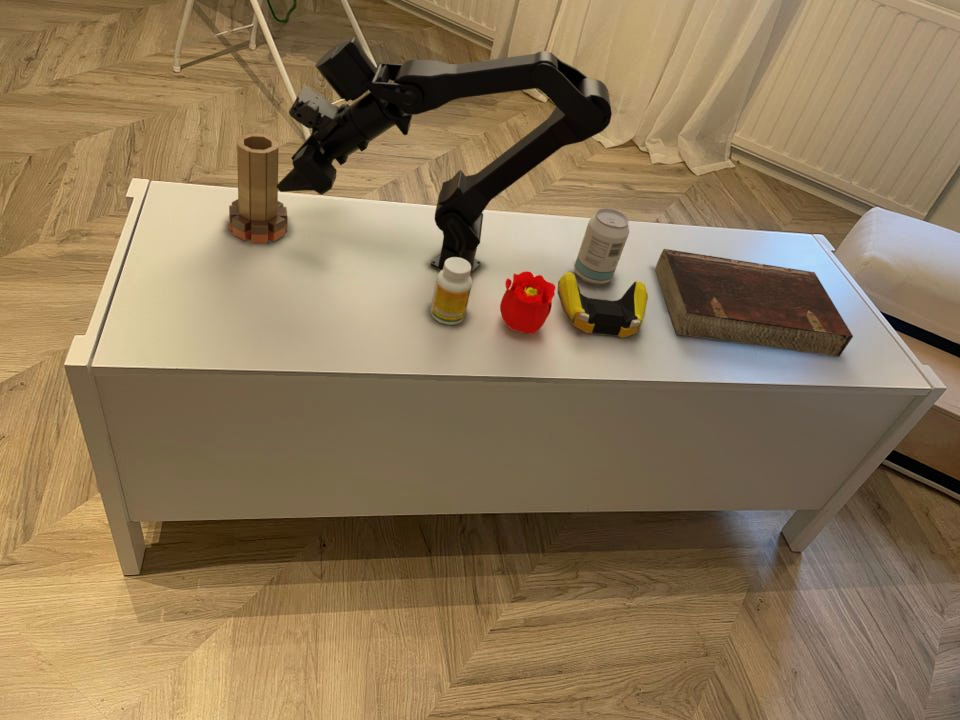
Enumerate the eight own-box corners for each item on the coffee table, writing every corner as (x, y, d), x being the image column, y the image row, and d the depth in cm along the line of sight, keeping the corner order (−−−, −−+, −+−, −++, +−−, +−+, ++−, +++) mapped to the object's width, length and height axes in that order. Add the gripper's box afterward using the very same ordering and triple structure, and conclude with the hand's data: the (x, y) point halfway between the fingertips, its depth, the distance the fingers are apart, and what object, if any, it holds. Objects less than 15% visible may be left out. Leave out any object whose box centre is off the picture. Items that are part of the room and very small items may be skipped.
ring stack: (256, 205, 132) (256, 189, 130) (298, 227, 129) (298, 211, 127) (217, 226, 126) (216, 209, 124) (260, 249, 123) (260, 233, 121)
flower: (488, 313, 122) (498, 272, 117) (529, 306, 126) (541, 266, 120) (511, 345, 117) (523, 305, 112) (554, 337, 121) (567, 297, 116)
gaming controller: (551, 293, 129) (558, 332, 122) (560, 267, 126) (567, 305, 118) (637, 304, 132) (649, 343, 124) (648, 278, 128) (660, 317, 121)
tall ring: (276, 201, 128) (277, 134, 120) (277, 221, 124) (278, 153, 116) (238, 199, 127) (237, 131, 119) (238, 220, 122) (237, 151, 115)
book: (802, 291, 145) (814, 269, 142) (838, 358, 131) (853, 336, 128) (654, 268, 141) (664, 245, 138) (675, 335, 127) (686, 312, 124)
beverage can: (609, 268, 138) (631, 211, 130) (612, 291, 133) (634, 233, 125) (572, 261, 138) (591, 202, 130) (572, 283, 133) (592, 224, 125)
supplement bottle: (427, 303, 121) (436, 253, 115) (460, 303, 123) (471, 254, 116) (433, 326, 117) (443, 275, 111) (467, 326, 119) (479, 276, 113)
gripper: (338, 53, 117) (265, 107, 124) (310, 104, 103) (229, 162, 110) (385, 112, 123) (313, 161, 129) (364, 168, 109) (284, 220, 115)
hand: (286, 174), depth 121 cm, fingers open, 9 cm apart
